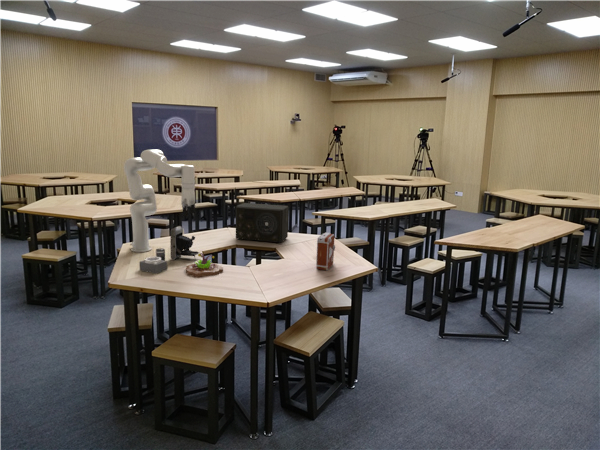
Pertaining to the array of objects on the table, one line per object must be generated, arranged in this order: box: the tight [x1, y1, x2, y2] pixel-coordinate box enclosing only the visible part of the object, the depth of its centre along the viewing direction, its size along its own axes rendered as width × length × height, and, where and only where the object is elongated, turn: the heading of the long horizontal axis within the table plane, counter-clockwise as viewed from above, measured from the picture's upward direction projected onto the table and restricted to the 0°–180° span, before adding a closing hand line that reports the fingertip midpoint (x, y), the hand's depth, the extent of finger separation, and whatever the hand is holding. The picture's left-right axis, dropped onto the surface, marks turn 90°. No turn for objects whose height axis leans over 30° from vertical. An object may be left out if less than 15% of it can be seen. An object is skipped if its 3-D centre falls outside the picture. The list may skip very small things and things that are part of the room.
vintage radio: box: [235, 202, 289, 244], centre depth 327 cm, size 38×20×25 cm, turn 77°
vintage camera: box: [169, 225, 201, 260], centre depth 274 cm, size 10×16×20 cm, turn 79°
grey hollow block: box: [138, 256, 168, 275], centre depth 252 cm, size 12×9×6 cm
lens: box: [155, 247, 166, 261], centre depth 266 cm, size 5×5×8 cm
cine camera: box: [315, 232, 336, 271], centre depth 267 cm, size 9×19×20 cm, turn 161°
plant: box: [185, 252, 224, 278], centre depth 252 cm, size 20×20×11 cm
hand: (189, 214), depth 266 cm, fingers open, 9 cm apart
